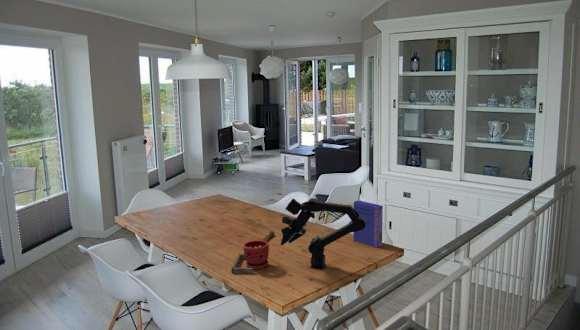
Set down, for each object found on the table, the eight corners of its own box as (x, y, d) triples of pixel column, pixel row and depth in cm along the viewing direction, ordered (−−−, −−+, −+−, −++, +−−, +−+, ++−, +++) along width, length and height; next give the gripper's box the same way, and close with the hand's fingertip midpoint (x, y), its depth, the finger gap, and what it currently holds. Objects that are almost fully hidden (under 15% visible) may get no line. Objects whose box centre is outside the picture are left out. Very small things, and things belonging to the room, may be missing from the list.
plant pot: (272, 261, 247) (271, 240, 245) (265, 271, 235) (264, 248, 233) (248, 260, 250) (247, 238, 248) (240, 269, 238) (239, 247, 236)
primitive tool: (264, 246, 272) (263, 240, 272) (255, 245, 274) (255, 239, 273) (275, 236, 290) (275, 230, 290) (267, 235, 292) (266, 230, 291)
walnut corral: (258, 258, 253) (258, 254, 252) (252, 273, 233) (252, 268, 232) (239, 258, 253) (238, 253, 253) (231, 273, 233) (231, 268, 233)
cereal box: (382, 245, 269) (382, 205, 264) (376, 247, 265) (377, 207, 261) (358, 238, 281) (359, 200, 277) (353, 240, 278) (353, 201, 274)
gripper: (297, 209, 248) (282, 232, 252) (282, 211, 232) (265, 235, 235) (313, 222, 244) (297, 245, 248) (298, 225, 228) (281, 250, 231)
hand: (285, 243), depth 241 cm, fingers open, 9 cm apart
